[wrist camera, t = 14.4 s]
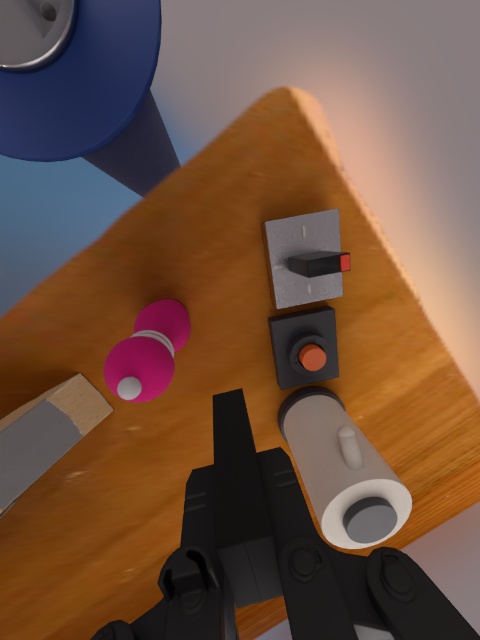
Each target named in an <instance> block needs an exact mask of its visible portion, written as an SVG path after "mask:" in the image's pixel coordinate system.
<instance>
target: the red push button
mask: <svg viewBox="0 0 480 640" xmlns="http://www.w3.org/2000/svg"><path fill="white" fill-rule="evenodd" d="M299 360H300V362H301V363H302V364H303V366H304V367H305V368H306V369H307V370H310V371H316V370H319V369H320V368H322V367H323V366H324V364H325V362H326V354H325V353H324V351H323V350H322V349H321V348H320V347H318V346H317V345H315V344H309V345H306V346H304V347H303V348H302V349H301V351H300V353H299Z"/></svg>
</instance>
